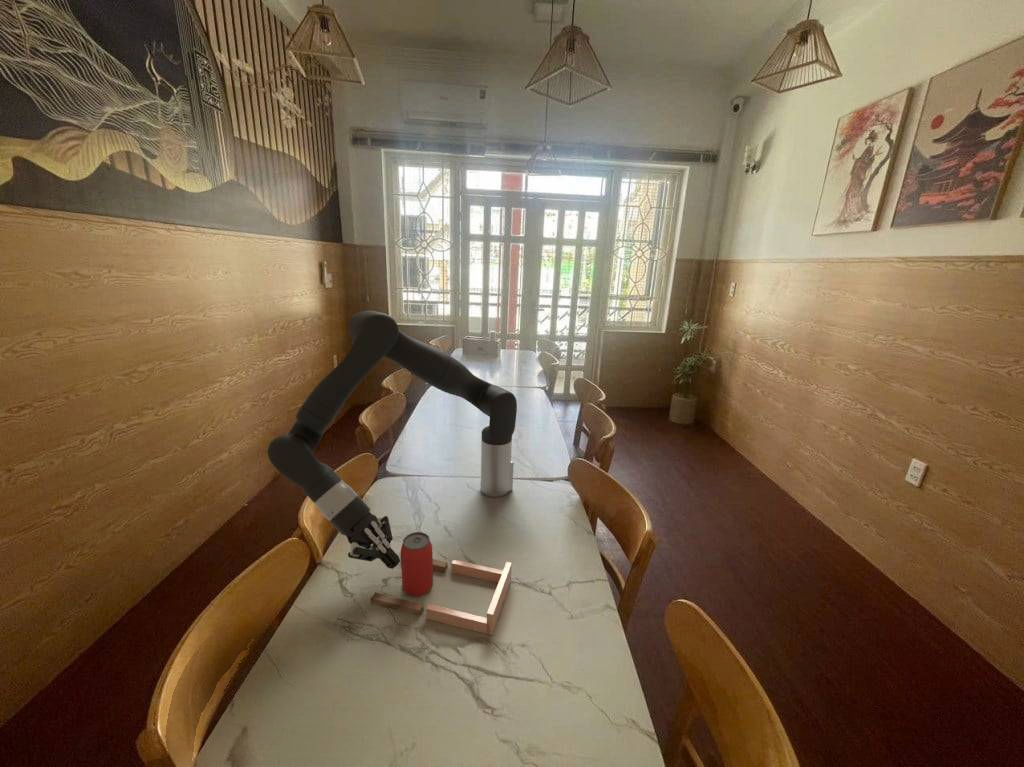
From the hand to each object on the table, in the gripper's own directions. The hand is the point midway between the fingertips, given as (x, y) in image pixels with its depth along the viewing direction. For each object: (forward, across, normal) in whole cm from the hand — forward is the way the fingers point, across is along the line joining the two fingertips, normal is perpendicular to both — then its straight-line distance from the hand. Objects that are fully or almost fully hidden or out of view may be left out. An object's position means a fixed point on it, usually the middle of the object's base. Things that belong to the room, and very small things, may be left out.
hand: (396, 564), depth 90 cm
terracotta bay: (+15, 0, -9) cm, 18 cm away
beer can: (+7, 0, 0) cm, 7 cm away
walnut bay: (+6, 0, 0) cm, 6 cm away
